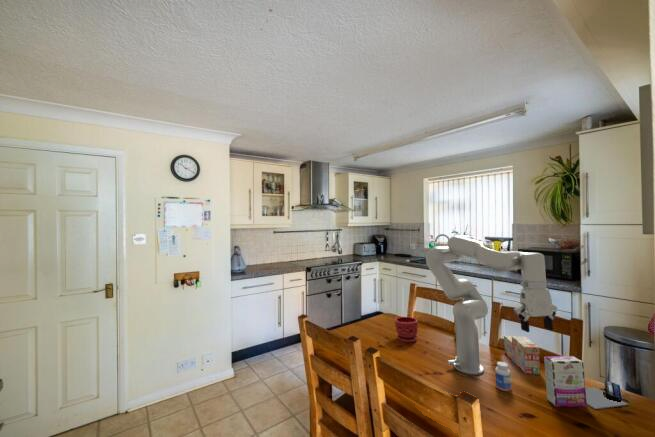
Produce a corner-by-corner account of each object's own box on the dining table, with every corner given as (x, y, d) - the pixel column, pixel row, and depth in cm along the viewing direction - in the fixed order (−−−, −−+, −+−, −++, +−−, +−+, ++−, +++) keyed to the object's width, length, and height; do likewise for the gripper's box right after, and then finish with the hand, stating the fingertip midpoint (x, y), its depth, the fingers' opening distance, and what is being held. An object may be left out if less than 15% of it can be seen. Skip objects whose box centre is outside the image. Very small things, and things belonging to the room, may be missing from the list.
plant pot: (420, 337, 169) (420, 317, 170) (414, 345, 158) (414, 324, 159) (399, 333, 176) (399, 314, 177) (392, 341, 165) (392, 320, 166)
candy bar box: (575, 399, 106) (573, 355, 107) (587, 407, 101) (584, 361, 102) (545, 398, 107) (543, 355, 108) (555, 407, 102) (553, 361, 103)
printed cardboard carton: (504, 353, 147) (503, 329, 147) (517, 353, 145) (516, 329, 146) (525, 373, 126) (523, 346, 126) (540, 374, 124) (539, 346, 125)
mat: (595, 409, 100) (595, 408, 100) (565, 392, 111) (565, 390, 111) (628, 405, 102) (628, 404, 102) (595, 388, 113) (595, 387, 113)
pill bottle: (492, 384, 118) (491, 361, 118) (504, 383, 118) (503, 360, 118) (502, 391, 112) (500, 367, 113) (514, 390, 113) (513, 366, 113)
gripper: (521, 288, 102) (524, 335, 102) (563, 285, 104) (566, 332, 103) (506, 284, 110) (508, 328, 109) (545, 282, 112) (548, 325, 111)
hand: (536, 330), depth 106 cm, fingers open, 9 cm apart
